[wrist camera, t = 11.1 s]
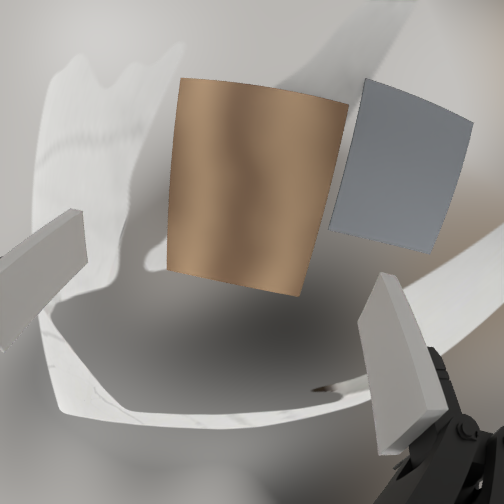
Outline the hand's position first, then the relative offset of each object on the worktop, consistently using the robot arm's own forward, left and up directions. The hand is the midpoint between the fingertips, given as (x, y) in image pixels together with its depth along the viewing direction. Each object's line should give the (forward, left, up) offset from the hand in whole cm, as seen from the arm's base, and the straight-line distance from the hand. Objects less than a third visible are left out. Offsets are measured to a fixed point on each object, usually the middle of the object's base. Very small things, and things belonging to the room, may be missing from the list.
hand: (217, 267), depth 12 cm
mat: (-18, -2, -26) cm, 32 cm away
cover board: (0, 0, -14) cm, 14 cm away
